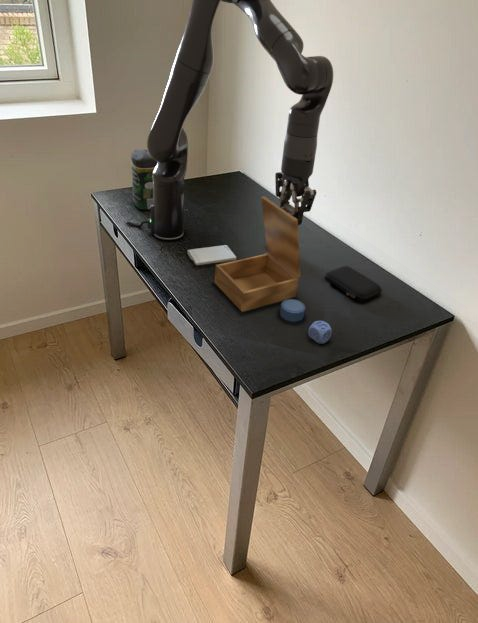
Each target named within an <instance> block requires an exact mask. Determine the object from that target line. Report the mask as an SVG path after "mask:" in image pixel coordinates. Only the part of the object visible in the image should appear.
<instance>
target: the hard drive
mask: <svg viewBox="0 0 478 623" xmlns="http://www.w3.org/2000/svg"><path fill="white" fill-rule="evenodd" d="M186 251H187V252H186V253H187V255H188V257H189V259H190V260H192V261H193V263H194V265H195V266H201V265H202V266H203V265H210V264H216V263H217V264H218V263H226V262H232V261H236V260H238V258H237V255H236V254H234V252H233V251H232V250H231V248H230V247H229V246H228V245H227V244H224V245H223V244H222V245H215V246H207V247H200V248H191V249H187V250H186Z"/></svg>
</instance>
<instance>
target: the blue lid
mask: <svg viewBox="0 0 478 623" xmlns="http://www.w3.org/2000/svg"><path fill="white" fill-rule="evenodd" d="M305 311H306V306H305V304H304V303H303V302H302V301H301V300H298V299H295V298H290V299H286V300H283V301H281V304H280V310H279V316H280V318H282V319H283V320H285V321H288V322H292V323H297V322H300V321H302V320H303V319H304V317H305Z"/></svg>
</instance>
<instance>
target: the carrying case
mask: <svg viewBox="0 0 478 623" xmlns="http://www.w3.org/2000/svg"><path fill="white" fill-rule="evenodd" d="M325 279H326V280H327V282H329V283H330V284H332V285H333V286H334V287H336V288H337V289H339V290H340V291H342V292H344V294H345V295H346V297H349V298H352V299H354V300H356V301H358V302H365V301H367V300H369V299H372V298H374V297H376V296H379V295H381V293H382V292H383V290H382V287H381V286H380V284H378V283H377V282H376V281H374V280H372V279H371V278H370V277H368V276H365V275H364V274H363V273H361V272H359V271H357V270H356V269H354V268H352V267H350V266H349V265H343V266H340V267H337V268H335V269H332V270H330V271H328V272H326V273H325Z"/></svg>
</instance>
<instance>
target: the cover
mask: <svg viewBox="0 0 478 623" xmlns="http://www.w3.org/2000/svg"><path fill="white" fill-rule="evenodd" d="M260 197H261V208H262V218H263V226H264V235H265V236H264V237H265V243H266V244H265V245H266V253H269V254H270V255H271V256H272V257H273V258H274V259H275V260H277V261H278V262H279V263H280V264H281V265H283V266H284V267H285V268H286V269H287V270H289V271H290V272H291V273H292V274H293V275H294V276H296V277H297V278H298V279H300V278H301V261H300V243H299V242H300V240H299V225H298V220H297V219H296V218H295V217H294V211H295V206H294V205H292V204H289V203H285V204H284V205H283V207H281V208H280V205H278V204H277V203H275V202H273V201H272V200H271V199H269V198H268V197H266V196H264V195H263V196H260ZM285 210H286V211H287V212H288V213H287V212H286V211H285Z"/></svg>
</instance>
